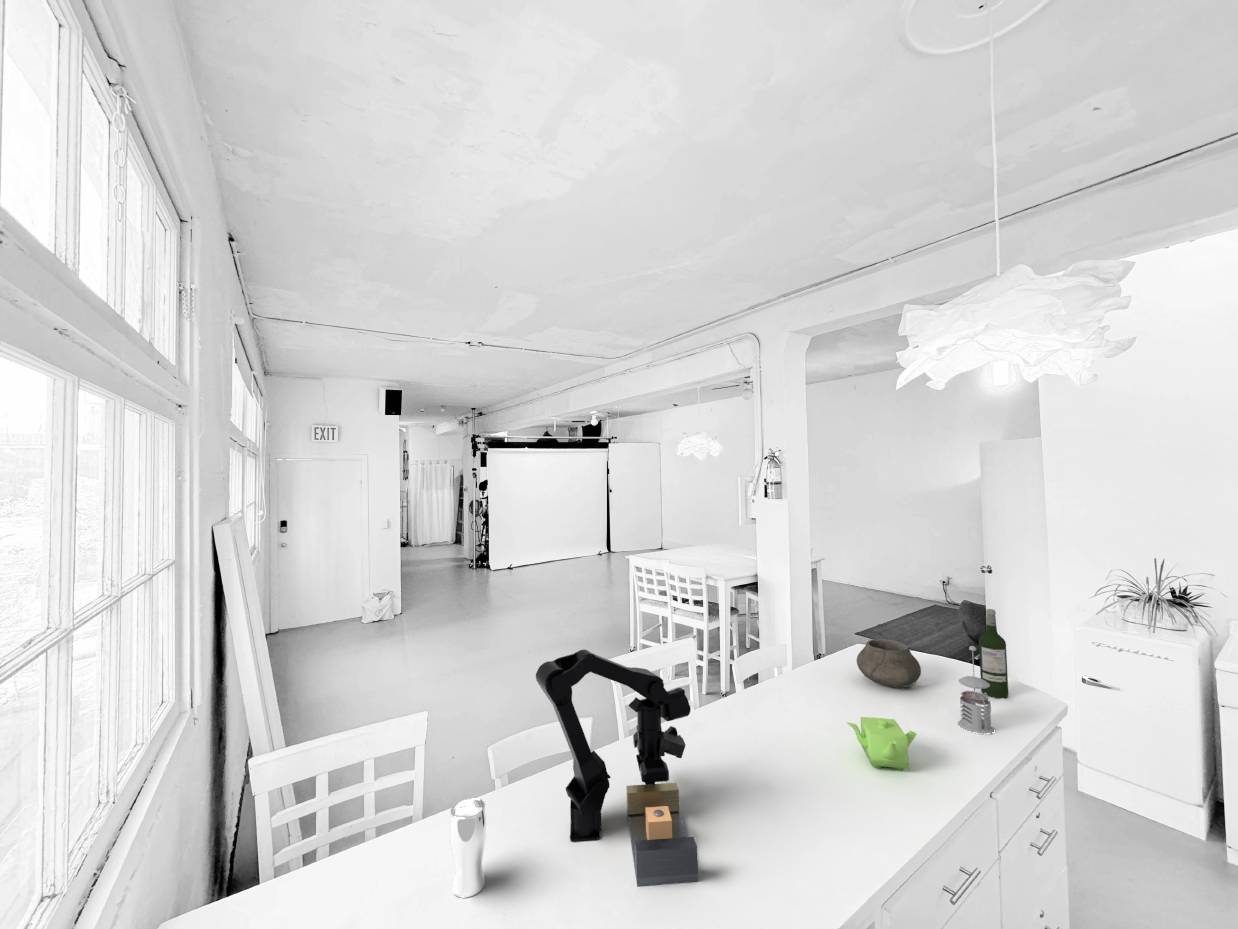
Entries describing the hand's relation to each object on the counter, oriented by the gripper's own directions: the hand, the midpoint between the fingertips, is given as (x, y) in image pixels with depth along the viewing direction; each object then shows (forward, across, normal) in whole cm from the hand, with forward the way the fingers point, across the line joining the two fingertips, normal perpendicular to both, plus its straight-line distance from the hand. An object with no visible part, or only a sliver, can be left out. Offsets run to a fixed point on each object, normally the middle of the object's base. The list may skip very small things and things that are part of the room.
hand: (650, 791), depth 124 cm
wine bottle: (+4, +50, -132) cm, 141 cm away
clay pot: (+4, +64, -101) cm, 119 cm away
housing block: (+2, -13, 0) cm, 13 cm away
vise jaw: (+2, -3, 0) cm, 4 cm away
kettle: (+4, +12, -66) cm, 67 cm away
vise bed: (+4, -13, 0) cm, 13 cm away
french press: (+4, +27, -106) cm, 110 cm away
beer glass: (+4, -20, +39) cm, 44 cm away
